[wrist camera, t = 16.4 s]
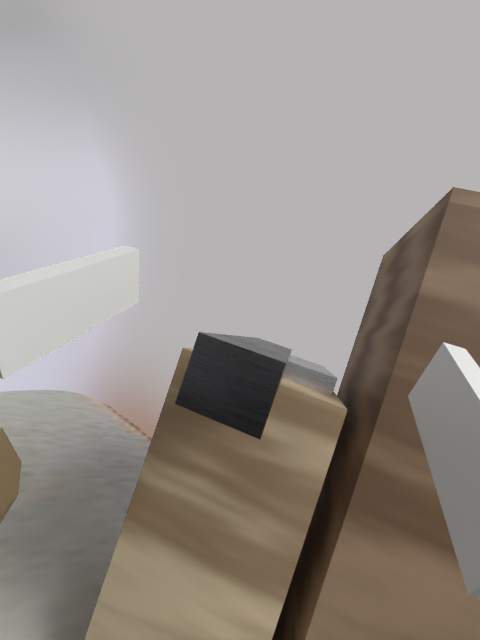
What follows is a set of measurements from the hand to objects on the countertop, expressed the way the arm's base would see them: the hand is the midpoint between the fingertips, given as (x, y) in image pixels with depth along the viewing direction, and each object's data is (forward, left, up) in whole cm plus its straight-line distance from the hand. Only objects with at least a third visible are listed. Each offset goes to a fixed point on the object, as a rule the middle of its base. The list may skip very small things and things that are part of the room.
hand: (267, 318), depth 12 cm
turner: (-1, +5, -3) cm, 6 cm away
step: (-2, +10, -25) cm, 27 cm away
